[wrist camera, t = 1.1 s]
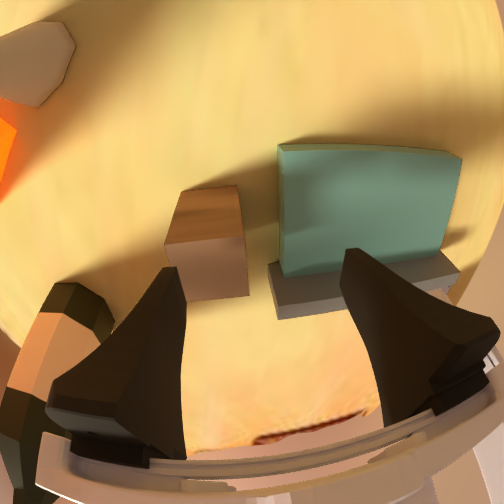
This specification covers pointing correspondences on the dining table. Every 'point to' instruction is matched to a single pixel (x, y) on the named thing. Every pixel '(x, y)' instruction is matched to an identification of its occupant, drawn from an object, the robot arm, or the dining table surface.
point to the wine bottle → (46, 380)
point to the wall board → (359, 219)
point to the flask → (34, 62)
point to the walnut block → (209, 244)
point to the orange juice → (5, 143)
